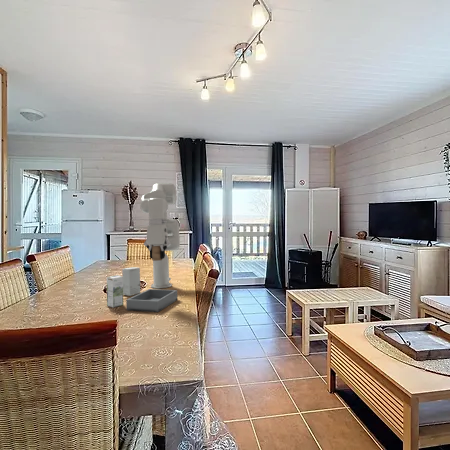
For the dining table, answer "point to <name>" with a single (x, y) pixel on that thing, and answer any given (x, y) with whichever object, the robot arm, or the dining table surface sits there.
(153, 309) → the tray
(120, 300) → the syrup box
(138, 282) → the skincare box
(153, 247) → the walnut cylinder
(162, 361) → the dining table surface
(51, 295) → the dining table surface
